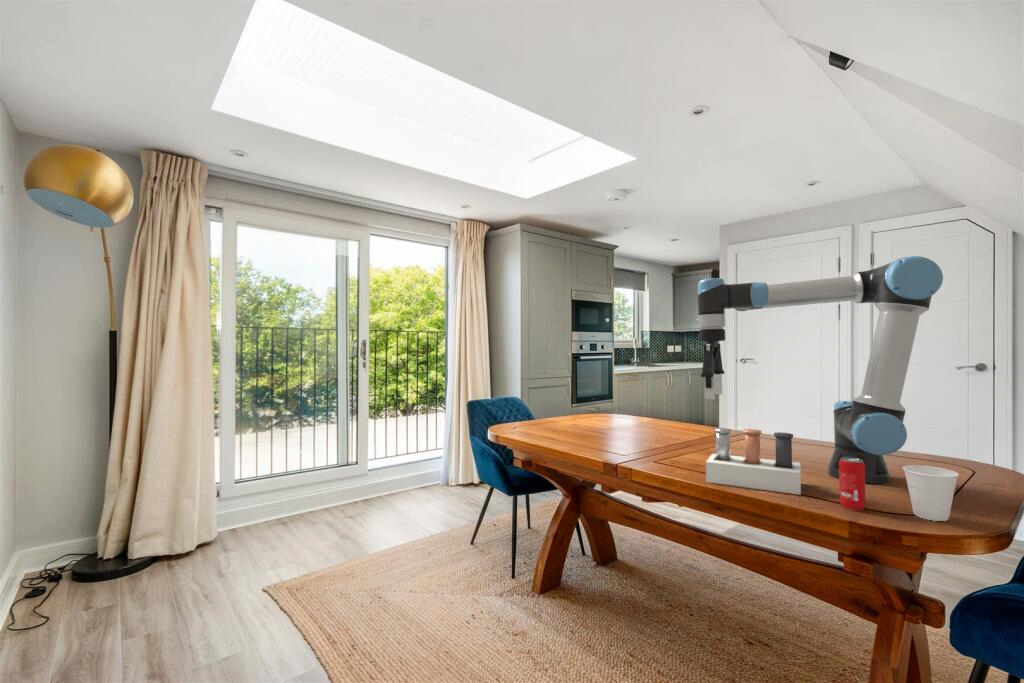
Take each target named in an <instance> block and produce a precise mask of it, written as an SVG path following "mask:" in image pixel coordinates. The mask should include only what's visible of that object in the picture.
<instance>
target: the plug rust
mask: <svg viewBox="0 0 1024 683" xmlns="http://www.w3.org/2000/svg"><path fill="white" fill-rule="evenodd" d="M742 431H743V432H742V433H744V457H745V463H747V464H754V465H759V464H760V459H761V434H762V430H759V429H755V428H754V429H753V428H745V429H743V430H742Z"/></svg>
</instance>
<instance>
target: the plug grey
mask: <svg viewBox="0 0 1024 683" xmlns="http://www.w3.org/2000/svg"><path fill="white" fill-rule="evenodd" d="M713 431H714V432H715V454H716V460H718V461H727V462H730V461H731V460H730V455H731V433H732V429H731V428H728V427H727V428H726V427H714V428H713Z"/></svg>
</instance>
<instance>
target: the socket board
mask: <svg viewBox="0 0 1024 683" xmlns="http://www.w3.org/2000/svg"><path fill="white" fill-rule="evenodd" d="M730 460H731V461H730V462H727V461H718V460H716V453H711V454H710V456H709V457H708V458H707V460H706V461H705V482H706V483H711V484H718V485H725V486H732V487H741V488H747V489H748V488H749V489H753V490H762V491H763V490H764V491H768V492H769V491H770V492H778V493H783V494H785V493H786V494H791V495H792V494H793V495H798V496H799V495H801V494H802V491H801V490H802V488H801V487H802V486H801V485H802V483H801V482H802V481H801V462H798V461H797V462H795V461H792V469H790V468H781V467H776V459H767V458H760V464H759V465H754V464H747V463H745V456H739V455H731V454H730Z"/></svg>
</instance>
